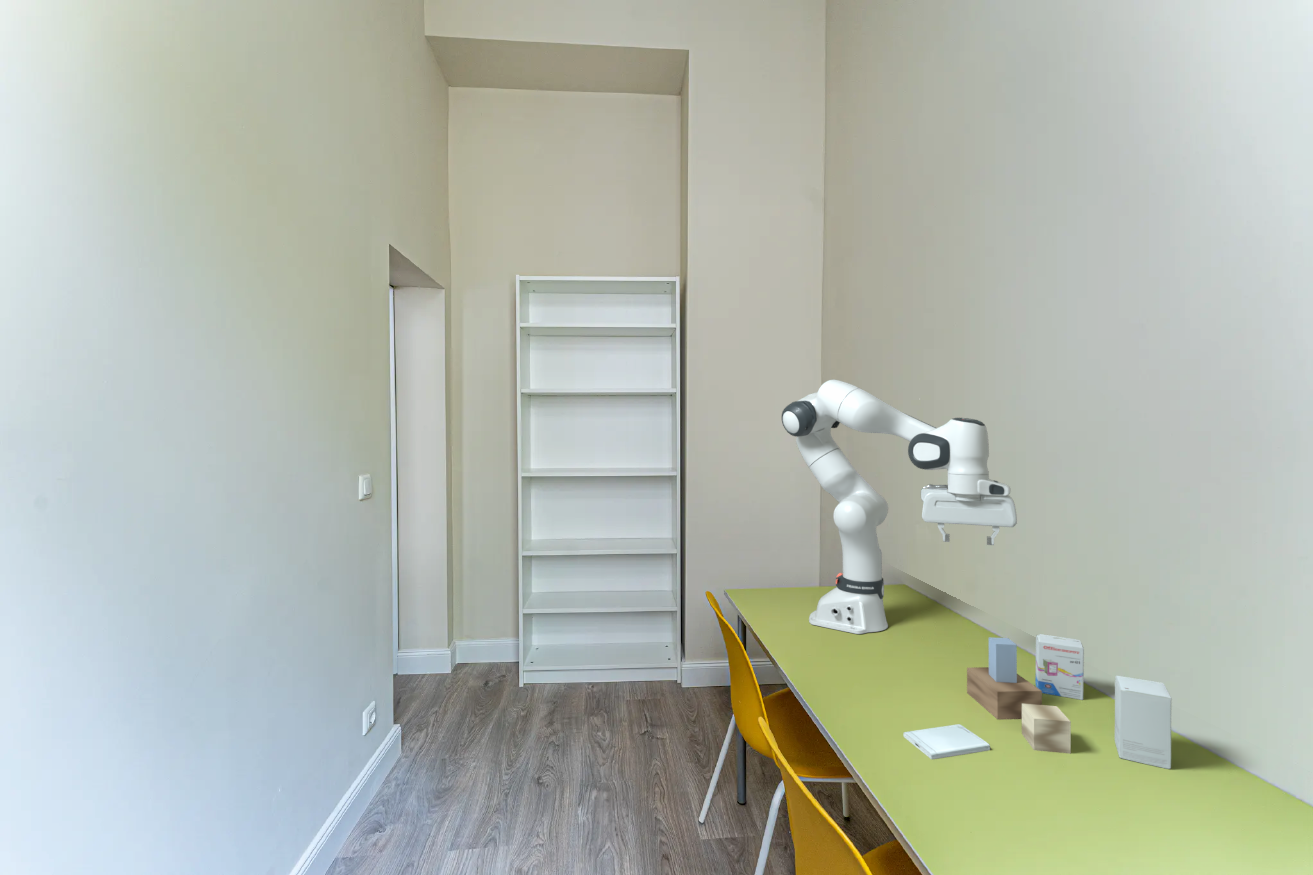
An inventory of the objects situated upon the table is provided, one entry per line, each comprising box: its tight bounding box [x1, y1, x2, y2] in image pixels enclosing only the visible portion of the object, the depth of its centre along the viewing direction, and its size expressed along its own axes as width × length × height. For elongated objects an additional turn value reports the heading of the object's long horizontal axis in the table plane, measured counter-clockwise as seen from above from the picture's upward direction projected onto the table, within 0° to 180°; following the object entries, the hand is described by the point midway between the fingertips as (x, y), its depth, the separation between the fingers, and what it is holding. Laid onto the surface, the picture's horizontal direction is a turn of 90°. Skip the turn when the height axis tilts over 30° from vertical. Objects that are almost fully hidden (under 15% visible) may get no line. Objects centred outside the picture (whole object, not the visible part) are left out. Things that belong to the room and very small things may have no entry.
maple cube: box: [1021, 704, 1072, 754], centre depth 114 cm, size 6×6×6 cm
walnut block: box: [966, 666, 1043, 720], centre depth 129 cm, size 9×12×6 cm
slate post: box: [988, 636, 1018, 683], centre depth 129 cm, size 4×4×8 cm
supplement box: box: [1114, 675, 1173, 770], centre depth 109 cm, size 7×7×13 cm
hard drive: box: [902, 723, 991, 760], centre depth 114 cm, size 2×8×12 cm
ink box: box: [1035, 633, 1085, 701], centre depth 134 cm, size 9×5×12 cm, turn 62°
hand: (967, 543), depth 146 cm, fingers open, 8 cm apart
